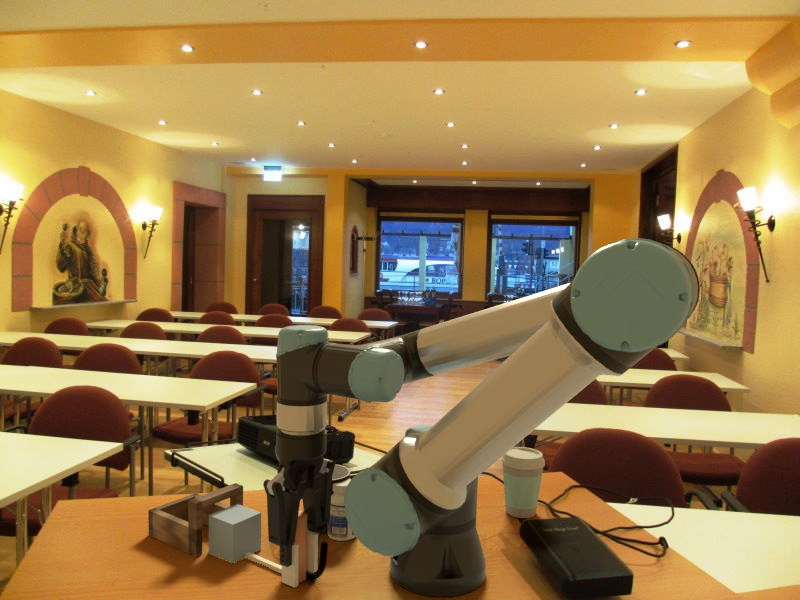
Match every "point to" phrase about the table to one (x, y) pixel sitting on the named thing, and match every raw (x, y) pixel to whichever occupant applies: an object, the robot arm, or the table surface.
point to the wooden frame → (190, 517)
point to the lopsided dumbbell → (249, 537)
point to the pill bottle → (339, 514)
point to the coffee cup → (522, 480)
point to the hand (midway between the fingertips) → (299, 577)
